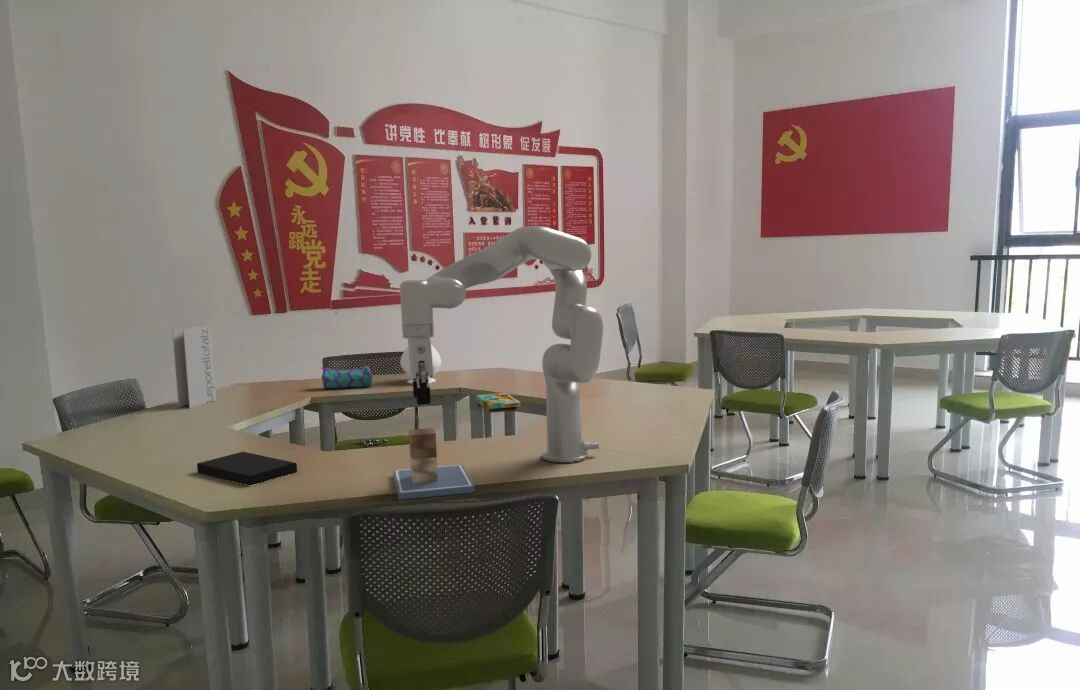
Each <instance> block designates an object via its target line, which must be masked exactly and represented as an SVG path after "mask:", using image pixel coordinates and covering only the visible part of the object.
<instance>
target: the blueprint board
mask: <svg viewBox="0 0 1080 690" xmlns="http://www.w3.org/2000/svg"><path fill="white" fill-rule="evenodd" d="M392 475H393V480H394V485H396V486H395V489H396V493H397V494H396V495H397V499H398V501H399V500H402V501H403V500H410V499H422V498H431V497H442V496H443V497H444V496H452V495H461V494H473V493H475V485H474V483H473V481H472V479H471V477H470V476H469V474H468V472H467V471H466V468H465V467H464V465H463V463H461V464H450V465H449V464H448V465H439V466H438V465H437V479H438V481H433V482H423V483H413V482H412V478H411V468H405V469H395V470H394V469H393V470H392Z"/></svg>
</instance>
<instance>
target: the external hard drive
mask: <svg viewBox="0 0 1080 690" xmlns="http://www.w3.org/2000/svg"><path fill="white" fill-rule="evenodd" d="M196 464H197V465H196V467H197V468H196V469H197V474H201V475H204V476H208V477H213V478H216V479H220V480H223V479H224V481H227V480H229V481H228V482H231V481H234V482H233V483H235V482H238V483H237V484H239V483H242V484H241V485H243V484H247V485H253V484H257V483H260V484H262V483H261V482H263V483H265V482H264V481H267V480H270V479H273V480H275V479H274V478H277V477H280V478H282V477H281V476H283V477H286V476H289V475H288V474H290V475H293V474H296V473H298V466H297V465H298V464H297V462H293V461H289V460H284V459H279V458H275V457H270V456H266V455H260V454H256V453H253V452H252V453H251V452H246V451H239V452H236V453H232V454H228V455H224V456H220V457H217V458H214V459H209V460H206V461H200V462H198V463H196ZM292 473H293V474H292ZM285 475H286V476H285ZM277 479H278V478H277ZM270 481H271V480H270ZM267 482H268V481H267ZM247 485H246V486H247ZM257 485H258V484H257Z"/></svg>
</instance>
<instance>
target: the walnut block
mask: <svg viewBox="0 0 1080 690" xmlns="http://www.w3.org/2000/svg"><path fill="white" fill-rule="evenodd" d="M408 436H409V438H408V440H409V456H410V455H411V458H412V459H422V458H434V457H437V455H438V454H437V453H438V452H437V433H436V430H435V429H434V427H429V428H428V427H427V428H415V429H408ZM437 458H438V457H437Z"/></svg>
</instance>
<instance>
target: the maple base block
mask: <svg viewBox="0 0 1080 690" xmlns="http://www.w3.org/2000/svg"><path fill="white" fill-rule="evenodd" d="M437 460H438V457H434V458H422V459H412V458H411V455H410V454H409V463H410V469H411V478H412V482H413V483H423V482H433V481H438V479H437V466H438V461H437Z"/></svg>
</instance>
